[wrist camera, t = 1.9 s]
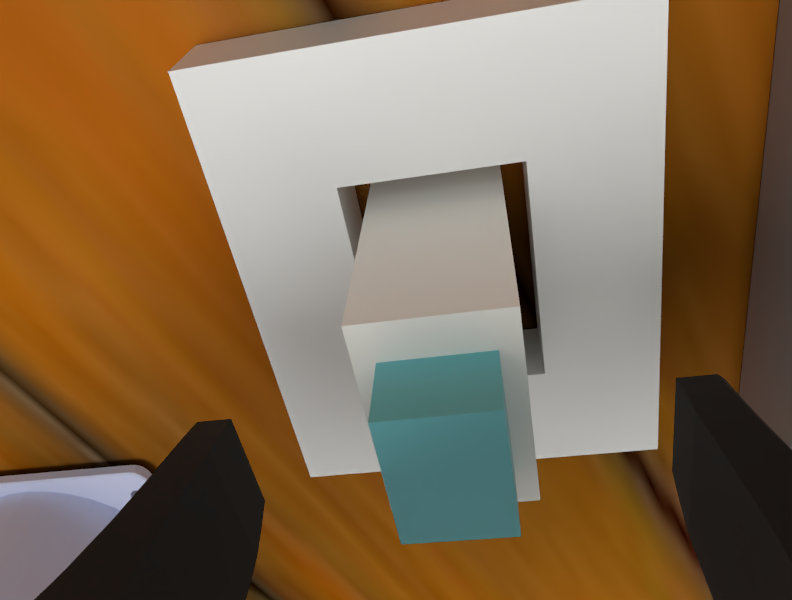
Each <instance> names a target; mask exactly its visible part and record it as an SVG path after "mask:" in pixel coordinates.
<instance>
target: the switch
mask: <svg viewBox="0 0 792 600" xmlns="http://www.w3.org/2000/svg"><path fill="white" fill-rule="evenodd" d="M739 395H740V397H741V398H742V399H743V400H744V401H745V402H746V403H747V404H748V405H749V406H750V407H751V408H752V409H753V410H754V411H755V413H756V414H757V415H758V416H759V417H760V418H761V419H762V420H763V421H764V422H765V423H766V424H767V425H768V426H769V427H770V428H771V429H772V430H773V431H774V432H775V433H776V434H777V435H778V436H779V437H780V438H781V439H782V440H783V441H784V442H785V443H786V444H787V445H788V446H789V447H790V448H791V449H792V0H780V4H779V14H778V23H777V33H776V42H775V52H774V62H773V71H772V81H771V91H770V100H769V110H768V120H767V129H766V139H765V148H764V158H763V168H762V177H761V187H760V197H759V206H758V216H757V226H756V235H755V245H754V255H753V264H752V274H751V283H750V293H749V303H748V312H747V322H746V332H745V341H744V351H743V361H742V370H741V380H740V389H739Z"/></svg>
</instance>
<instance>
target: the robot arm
mask: <svg viewBox="0 0 792 600" xmlns="http://www.w3.org/2000/svg"><path fill="white" fill-rule="evenodd" d="M672 472H673V476H674V480H675V484H676V488H677V492H678V496H679V500H680V504H681V508H682V512H683V515H684V519H685V523H686V527H687V530H688V534H689V536H690V539H691V542H692V544H693V547H694V550H695V552H696V555H697V558H698V560H699V563H700V565H701V568H702V571H703V573H704V576H705V579H706V581H707V584H708V586H709V589H710V592H711V594H712V597H713V599H714V600H792V449H791V448H790V447H789V446H788V445H787V444H786V443H785V442H784V441H783V440H782V439H781V438H780V437H779V436H778V435H777V434H776V433H775V432H774V431H773V430H772V429H771V428H770V427H769V426H768V425H767V424H766V423H765V422H764V421H763V420H762V419H761V418H760V417H759V416H758V415H757V414H756V413H755V411H754V410H753V409H752V408H751V407H750V406H749V405H748V404H747V403H746V402H745V401H744V400H743V399H742V398H741V397H740V395H739V394H738V393H737V392H736V391H735V390H734V389H733V388H732V387H731V386H730V385H729V384H728V382H727V381H726V380H725V379H723V378H722V377H721V376H720V375H718V374H715V375H704V376H693V377H683V378H676V394H675V418H674V442H673V466H672ZM264 503H265V500H264V498H263V495H262V493H261V490H260V488H259V485H258V483H257V481H256V478H255V476H254V473H253V471H252V469H251V466H250V464H249V461H248V459H247V456H246V454H245V452H244V449H243V447H242V444H241V442H240V440H239V437H238V435H237V432H236V430H235V427H234V425H233V423H232V420H231V419H226V420H215V421H204V422H197V423H196V424H195V425H194V426H193V427H192V428H191V429H190V431H189V432H188V433H187V434H186V435H185V436H184V437H183V439H182V440H181V441H180V442H179V443H178V444H177V446H176V447H175V448H174V449H173V450H172V451H171V453H170V454H169V455H168V456H167V457H166V458H165V460H164V461H163V462H162V463H161V464H160V465H159V467H158V468H157V469H156V470H155V471H154V473H153V474H151V473H150V471H149V470H147V469H146V468H144V467H142V466H139V465H125V466H113V467H102V468H90V469H79V470H67V471H56V472H44V473H33V474H21V475H10V476H0V600H246V597H247V593H248V589H249V586H250V582H251V578H252V574H253V571H254V567H255V563H256V559H257V553H258V547H259V540H260V534H261V527H262V519H263V511H264Z"/></svg>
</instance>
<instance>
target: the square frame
mask: <svg viewBox="0 0 792 600" xmlns="http://www.w3.org/2000/svg"><path fill="white" fill-rule="evenodd" d="M668 5H669V0H449V1H443V2H437V3H432V4H426V5H420V6H415V7H409V8H403V9H398V10H392V11H386V12H381V13H375V14H369V15H364V16H358V17H352V18H347V19H341V20H335V21H330V22H324V23H318V24H313V25H307V26H302V27H296V28H290V29H285V30H279V31H273V32H268V33H262V34H256V35H251V36H245V37H239V38H234V39H228V40H222V41H217V42H211V43H205V44H200V45H195V46H194V47H193V48H192V49H191V50H190V51H189V52H188V53H187V54H186V55H185V56H184V57H183V58H182V59H181V60H180V61H179V62H178V63H177V64H176V65H174V66H173V67H172V68H171V69H170V70H169V71H168V73H169V75H170V78H171V81H172V84H173V87H174V90H175V92H176V95H177V98H178V101H179V104H180V107H181V110H182V112H183V115H184V118H185V121H186V124H187V127H188V129H189V132H190V135H191V138H192V141H193V144H194V147H195V149H196V152H197V155H198V158H199V161H200V164H201V166H202V169H203V172H204V175H205V178H206V181H207V184H208V186H209V189H210V192H211V195H212V198H213V201H214V203H215V206H216V209H217V212H218V215H219V218H220V221H221V223H222V226H223V229H224V232H225V235H226V238H227V240H228V243H229V246H230V249H231V252H232V255H233V258H234V260H235V263H236V266H237V269H238V272H239V275H240V277H241V280H242V283H243V286H244V289H245V292H246V295H247V297H248V300H249V303H250V306H251V309H252V312H253V314H254V317H255V320H256V323H257V326H258V329H259V332H260V334H261V337H262V340H263V343H264V346H265V349H266V351H267V354H268V357H269V360H270V363H271V366H272V369H273V371H274V374H275V377H276V380H277V383H278V386H279V388H280V391H281V394H282V397H283V400H284V403H285V406H286V408H287V411H288V414H289V417H290V420H291V423H292V425H293V428H294V431H295V434H296V437H297V440H298V442H299V445H300V448H301V451H302V454H303V457H304V460H305V462H306V465H307V468H308V471H309V474H310V477H318V476H331V475H343V474H355V473H368V472H380V471H381V470H380V466H379V462H378V459H377V455H376V451H375V448H374V444H373V440H372V437H371V433H370V429H369V426H368V422H367V418H366V415H365V411H364V407H363V404H362V400H361V396H360V393H359V389H358V385H357V382H356V378H355V374H354V371H353V367H352V363H351V360H350V356H349V352H348V349H347V345H346V342H345V338H344V334H343V331H342V327H341V325H342V321H343V316H344V311H345V306H346V301H347V296H348V291H349V287H350V282H351V277H352V272H353V267H354V262H355V257H356V252H357V248H358V243H359V238H360V233H361V228H362V223H363V220H362V216H361V211H360V207H359V203H358V198H357V194H356V190H355V185H361V184H369V183H376V182H383V181H390V180H397V179H404V178H411V177H418V176H425V175H432V174H439V173H446V172H453V171H460V170H468V169H475V168H482V167H489V166H496V165H503V164H510V163H517V162H522V165H523V176H524V187H525V198H526V209H527V220H528V231H529V242H530V253H531V264H532V275H533V286H534V297H535V308H536V319H537V328H535V329H525V330H523V339H524V348H525V358H526V367H527V377H528V386H529V396H530V405H531V415H532V425H533V434H534V444H535V453H536V459H540V458H553V457H565V456H577V455H590V454H602V453H614V452H627V451H639V450H651V449H658V418H659V377H660V335H661V294H662V253H663V212H664V170H665V129H666V88H667V46H668Z"/></svg>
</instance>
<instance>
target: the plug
mask: <svg viewBox="0 0 792 600" xmlns="http://www.w3.org/2000/svg"><path fill="white" fill-rule="evenodd" d="M341 327H342V331H343V334H344V338H345V342H346V345H347V349H348V352H349V356H350V360H351V363H352V367H353V371H354V374H355V378H356V382H357V385H358V389H359V393H360V396H361V400H362V404H363V407H364V411H365V415H366V418H367V422H368V426H369V429H370V433H371V437H372V440H373V444H374V448H375V451H376V455H377V459H378V462H379V466H380V470H381V473H382V477H383V481H384V484H385V488H386V492H387V495H388V499H389V503H390V506H391V510H392V512H393V516H394V520H395V523H396V527H397V531H398V534H399V538H400V542H401V544H415V543H430V542H446V541H461V540H476V539H491V538H506V537H521V529H520V519H519V509H518V502H523V501H536V500H540V491H539V482H538V472H537V463H536V453H535V444H534V434H533V425H532V415H531V405H530V396H529V386H528V377H527V367H526V358H525V348H524V339H523V329H522V320H521V310H520V302H519V295H518V288H517V281H516V274H515V267H514V260H513V253H512V246H511V239H510V232H509V225H508V218H507V211H506V204H505V197H504V190H503V183H502V176H501V169H500V165H496V166H489V167H482V168H475V169H468V170H460V171H453V172H446V173H439V174H432V175H425V176H418V177H411V178H404V179H397V180H390V181H383V182H376V183H371V184H370V189H369V194H368V199H367V204H366V209H365V213H364V218H363V223H362V228H361V233H360V238H359V243H358V248H357V252H356V257H355V262H354V267H353V272H352V277H351V282H350V287H349V291H348V296H347V301H346V306H345V311H344V316H343V321H342V325H341Z"/></svg>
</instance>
